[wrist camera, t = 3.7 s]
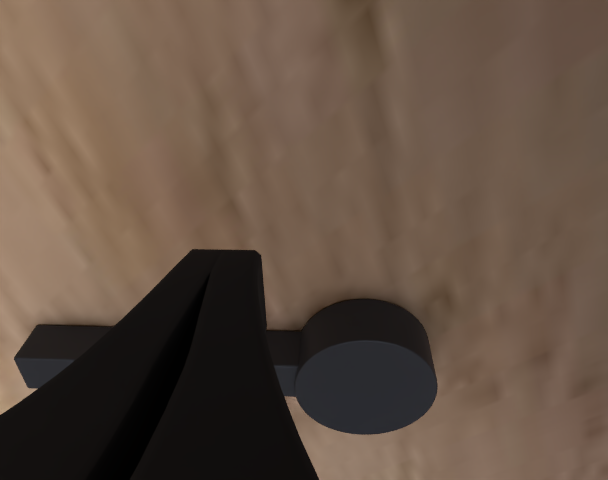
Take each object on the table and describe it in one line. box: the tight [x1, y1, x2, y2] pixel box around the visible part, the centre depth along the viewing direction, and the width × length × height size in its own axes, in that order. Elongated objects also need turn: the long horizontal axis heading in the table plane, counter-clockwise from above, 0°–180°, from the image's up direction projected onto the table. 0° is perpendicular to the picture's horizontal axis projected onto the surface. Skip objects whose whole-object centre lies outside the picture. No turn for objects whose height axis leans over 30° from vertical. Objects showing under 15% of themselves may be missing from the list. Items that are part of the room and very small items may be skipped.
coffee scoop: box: [14, 299, 437, 434], centre depth 18 cm, size 15×5×2 cm, turn 91°
